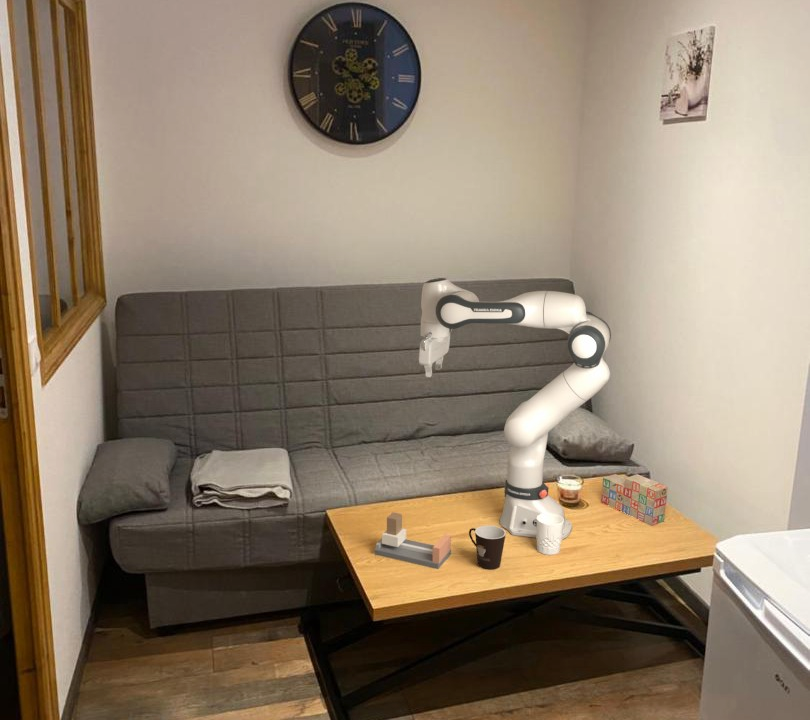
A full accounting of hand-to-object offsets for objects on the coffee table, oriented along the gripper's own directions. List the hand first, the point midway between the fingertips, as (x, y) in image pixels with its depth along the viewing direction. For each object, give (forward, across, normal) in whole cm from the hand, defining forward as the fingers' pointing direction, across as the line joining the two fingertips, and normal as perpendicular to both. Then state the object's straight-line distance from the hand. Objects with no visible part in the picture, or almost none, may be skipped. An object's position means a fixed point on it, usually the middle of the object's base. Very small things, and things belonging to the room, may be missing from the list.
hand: (433, 373), depth 257 cm
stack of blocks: (+47, +22, -62) cm, 81 cm away
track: (+46, -32, -5) cm, 57 cm away
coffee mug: (+46, -29, -26) cm, 61 cm away
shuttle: (+43, -32, +1) cm, 54 cm away
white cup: (+46, -15, -42) cm, 64 cm away
